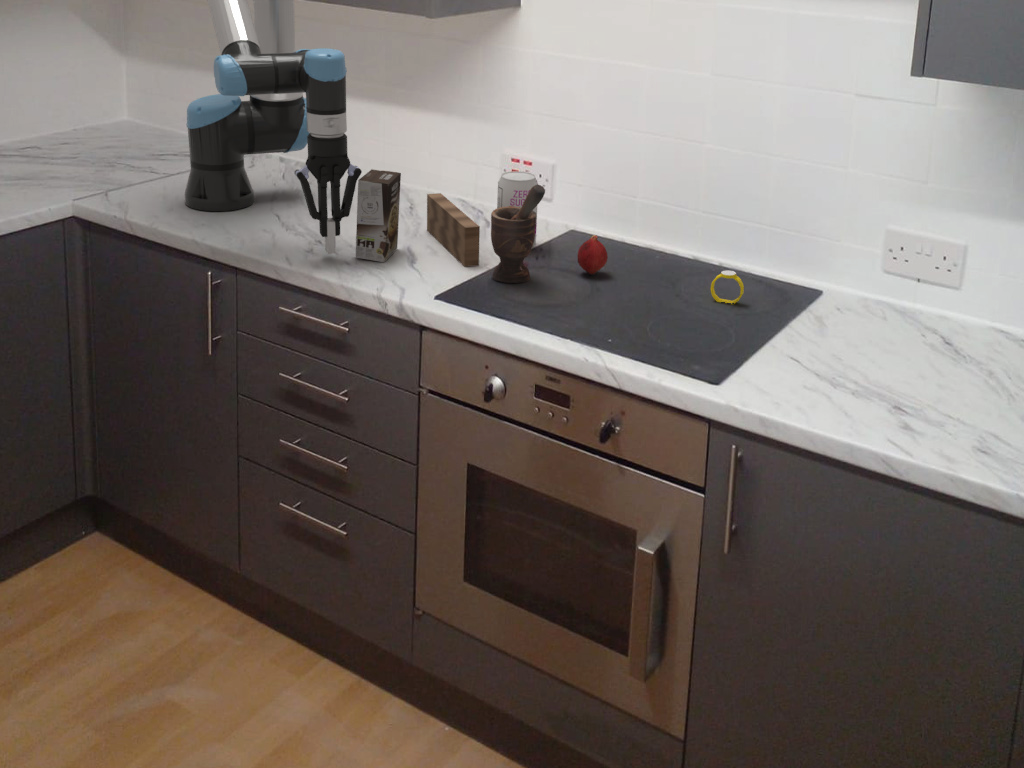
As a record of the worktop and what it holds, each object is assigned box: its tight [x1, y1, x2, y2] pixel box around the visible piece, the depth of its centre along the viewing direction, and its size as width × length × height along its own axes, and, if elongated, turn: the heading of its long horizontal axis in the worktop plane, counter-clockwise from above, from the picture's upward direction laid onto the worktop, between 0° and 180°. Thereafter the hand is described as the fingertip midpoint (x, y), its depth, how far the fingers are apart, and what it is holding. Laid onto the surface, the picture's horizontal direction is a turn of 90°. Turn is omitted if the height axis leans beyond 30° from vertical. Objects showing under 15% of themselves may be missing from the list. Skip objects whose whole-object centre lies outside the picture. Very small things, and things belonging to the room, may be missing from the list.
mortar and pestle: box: [490, 184, 546, 284], centre depth 232 cm, size 12×9×20 cm
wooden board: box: [426, 192, 481, 267], centre depth 250 cm, size 24×3×8 cm, turn 22°
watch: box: [710, 270, 745, 305], centre depth 228 cm, size 6×3×6 cm, turn 69°
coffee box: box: [354, 168, 402, 263], centre depth 243 cm, size 9×6×16 cm
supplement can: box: [496, 170, 539, 249], centre depth 251 cm, size 8×8×15 cm
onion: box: [577, 234, 608, 275], centre depth 238 cm, size 6×6×8 cm
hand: (330, 251), depth 243 cm, fingers closed
